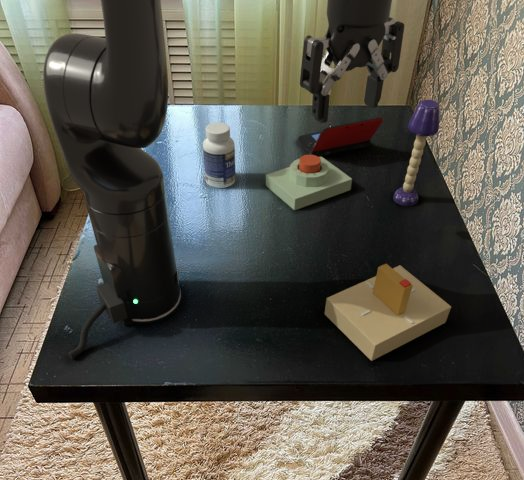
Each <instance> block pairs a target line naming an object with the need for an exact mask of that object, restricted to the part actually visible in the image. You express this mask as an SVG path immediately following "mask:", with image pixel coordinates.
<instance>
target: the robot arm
mask: <svg viewBox="0 0 524 480" xmlns="http://www.w3.org/2000/svg"><path fill="white" fill-rule="evenodd" d="M326 2H327V3H326V17H327V22H328V25H327V26H328V27H327V30H326V33H325V34H324V36H319V37H314V36H311V35H310V34H309V35H306V36H305V37H304V39H303V47H302V57H301V65H300V66H301V68H300V74H299V75H300V76H299V86H300V87H301V88H303V89H304V90H306V91H308V92H309V93H310V94H311V95H312V100H311V101H312V103H311V115H312V117H314V119H315V121H317V122H318V123H320V124H324V123H327V122H328V120H329V108H330V99H331V94H329V93H330V92H331V90H332V88H333V86H334V85H335V84H336V82H337V81H339V80H341V78H342V77H343V75H344V73H345V72H349V71H352V70H355V68H364V67H366V70H367V72H368V73H369V75H367V76H366V83H365V91H364V98H363V102H364V105H365V106H367V107H368V108H370V109H375V108H377V107H378V106H379V103H380V101H381V98H382V93H383V88H384V87H383V86H384V82H385V80H386V79H387V77H388V75H389V74H390V73H396V72H397V71H398V70H399V67H400V59H401V55H402V54H401V53H402V45H403V39H404V33H405V23H403V21H399V20H397V19H395V18H392V17H390V15H391V9H392V3H393V0H327V1H326ZM100 5H101V13H102V20H103V28H104V37H100V36H96V35H95V36H94V35H90V34H85V33H84V34H83V33H77V32H76V33H67V34H64V35H61V36H60V37H58V38H57V39H55V40H54V42H53V43H52V44H51V45H50V47H49V48H48V51H47V52H46V55H45V59H44V64H43V69H42V71H43V72H42V83H43V84H42V86H43V92H44V99H45V104H46V107H47V111H48V114H49V117H50V121H51V124H52V127H53V129H54V132H55V136H56V138H57V141H58V144H59V147H60V151H61V152H62V156H63V158H64V161H65V164H66V167H67V170H68V172H69V175H70V177H71V178H72V180H73V181H74V183H75V185H77V186H78V188H79V189H80V190H81V193H82V195H83V199H84V202H85V205H86V209H87V213H88V217H89V220H90V225H91V228H92V232H93V236H94V238H95V242H96V244H95V245H94V246H93V250H94V254H95V257H96V261H97V265H98V268H99V271H100V275H101V279H102V282H103V283H101V284H99V285H96V286H95V288H96V292H97V295H98V298H99V301H100V305H99V306H98V307H97V308H96V309H95V310H94V311H93V312H92V313H91V314H90V316H89V317H88V318H87V319H86V321H85V322H84V324H83V326H82V327H81V330H80V336H79V337H80V338H79V342H78V345H77V346H76V348H74V349H72V350H70V351H69V352H68V353H67V356H68V357H69V358H70V359H74V358H76V357H78V356H80V354H82V353H83V351H84V350H85V348H86V346H87V344H88V336H89V332H90V329H91V327H92V326H93V324H94V323H95V321H96V320H97V319H98V318H100V316H101V315H102V314H103V313H104V312H105V311H106V314H107V315H108V316H109V318H110V319H111V321H112V323H113V324H117V323H119V322H122V324H123V325H124V327H128V326H130V325H152V324H157V323H159V322H162V321H164V320H166V319H168V318H170V317H171V316H173V315H174V314H175V313H176V312H177V311H178V310H179V308H180V306H181V303H182V292H181V287H180V271H179V270H180V269H178V267H177V262H176V256H175V248H174V242H173V233H172V228H171V221H170V213H169V205H168V199H167V193H166V185H165V178H164V173H163V170H162V167H161V165H160V164H159V161H157V159H155V158H154V157H153V156H152V155H151V154H149V153H148V152H146V151H145V150H143V149H146V148H148V147H150V146H152V145H153V144H154V143H155V142H156V141H157V140H158V139H159V138H160V135H161V133H162V131H163V130H164V127H165V124H166V123H165V122H166V118H167V115H168V106H169V72H168V60H167V51H166V50H167V49H166V40H165V39H166V38H165V29H164V28H165V27H164V19H163V11H162V10H163V9H162V0H100ZM381 43H382V44H381ZM380 44H381V51H380V49H379V46H380ZM325 51H326V52H325ZM332 63H333V65H335V67H334V68H333V67H331V65H332Z"/></svg>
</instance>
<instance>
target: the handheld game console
mask: <svg viewBox="0 0 524 480" xmlns="http://www.w3.org/2000/svg"><path fill="white" fill-rule="evenodd" d="M383 121H384V119H383V117H374V118H370V119H365V120H359V121H354V122H349V123H344V124H339V125H334V126H330V127H326V128H323V129H322V130H321V131H317V132H310V133H307V134H302V135H299V136H298V137H297V142H298V144H299V145H300V146H301V147H302V148H303V149H304V150H305V151H306V152H307V153H308V155H315V156H318V157H325V156H328V155H333V154H337V153H339V152H348V151H353V150H358V149H364V148H368V147H369V146H370V145H371V140H372V139H373V137H374V135H375V134H376V133H377V131H378V129H379V127H380V126H381V125H382V123H383Z"/></svg>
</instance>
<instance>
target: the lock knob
mask: <svg viewBox="0 0 524 480" xmlns="http://www.w3.org/2000/svg"><path fill="white" fill-rule="evenodd" d="M375 276H376V280H375V285H374V289H373V294H374V295H376V296H377V297H378V298H379V299H380V300H381V301H382V302H383V303H385V304H386V305H387V306H388V307H389V308H390V309H391V310H392V311H394V312H395V313H396V314H397V315H399V314H401V313H403V312H405V311H406V307H407V304H408V300H409V297H410V293H411V290H412V286H413V285H412V284H411V282H409V281H408V280H407V279H404V278H403V277H402V276H401V275H400V274H398V273H397V272H396V271H395V270H394V269H393V267H392V266H390V265H389V264H388V263H384V264H382V265H380V266H378V267H377V272H376V275H375Z"/></svg>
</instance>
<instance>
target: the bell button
mask: <svg viewBox="0 0 524 480" xmlns="http://www.w3.org/2000/svg"><path fill="white" fill-rule="evenodd" d="M299 159H300V161H299V170H300V171H301V172H304V173H307V174H314V173H317V172H319V171H320V165H321V159H320V158H319V157H318V156H315V155H310V154H304V155H302V156H301V157H299Z"/></svg>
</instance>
